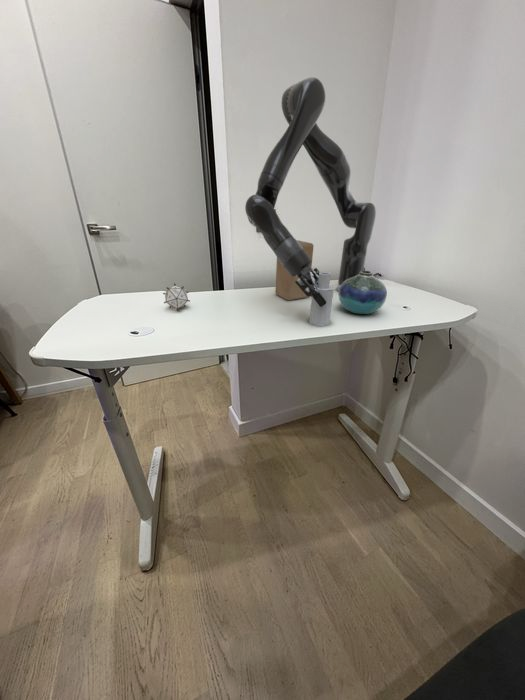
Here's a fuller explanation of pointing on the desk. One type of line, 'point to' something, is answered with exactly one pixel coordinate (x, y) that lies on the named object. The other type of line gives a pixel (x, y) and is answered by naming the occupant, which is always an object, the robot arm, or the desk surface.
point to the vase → (362, 293)
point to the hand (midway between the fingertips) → (327, 301)
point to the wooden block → (291, 278)
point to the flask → (322, 314)
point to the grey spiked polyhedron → (176, 297)
